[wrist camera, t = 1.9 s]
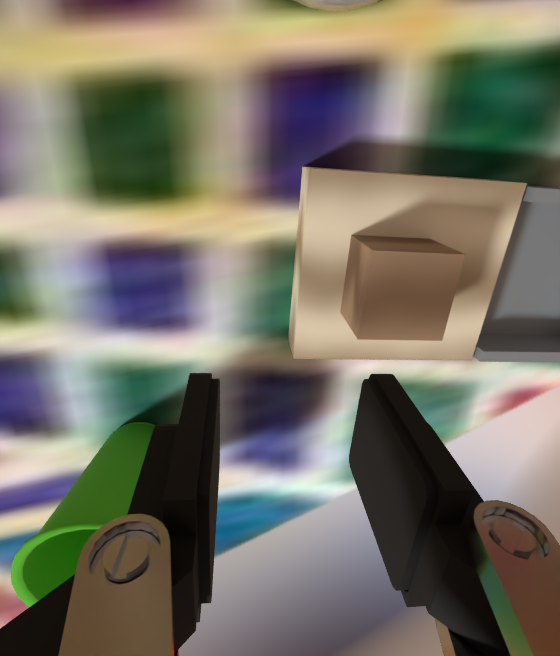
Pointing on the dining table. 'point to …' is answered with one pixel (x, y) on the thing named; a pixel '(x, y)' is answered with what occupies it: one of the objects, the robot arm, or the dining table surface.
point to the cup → (82, 513)
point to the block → (399, 287)
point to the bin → (527, 287)
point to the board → (395, 221)
